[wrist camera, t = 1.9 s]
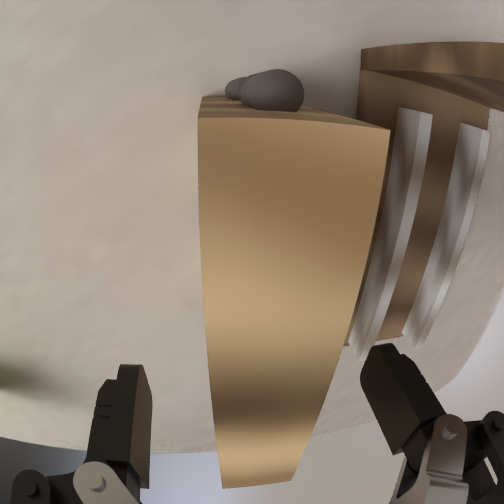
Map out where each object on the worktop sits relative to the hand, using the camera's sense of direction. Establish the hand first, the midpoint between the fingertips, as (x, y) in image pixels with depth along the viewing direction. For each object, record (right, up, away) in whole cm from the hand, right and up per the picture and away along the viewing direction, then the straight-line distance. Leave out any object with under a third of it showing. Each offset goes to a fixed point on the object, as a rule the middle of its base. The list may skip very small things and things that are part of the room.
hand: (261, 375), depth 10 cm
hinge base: (+12, +7, +13) cm, 19 cm away
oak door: (-2, +6, +11) cm, 12 cm away
